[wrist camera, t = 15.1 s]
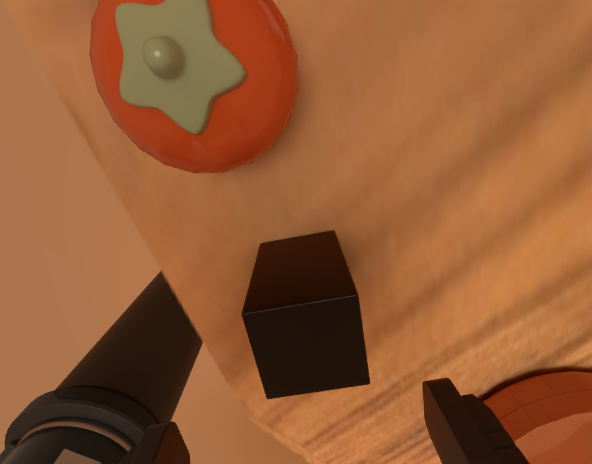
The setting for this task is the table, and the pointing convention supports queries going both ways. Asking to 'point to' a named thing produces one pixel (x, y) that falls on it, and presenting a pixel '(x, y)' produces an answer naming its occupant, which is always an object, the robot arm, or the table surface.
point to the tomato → (196, 78)
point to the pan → (548, 417)
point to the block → (305, 318)
